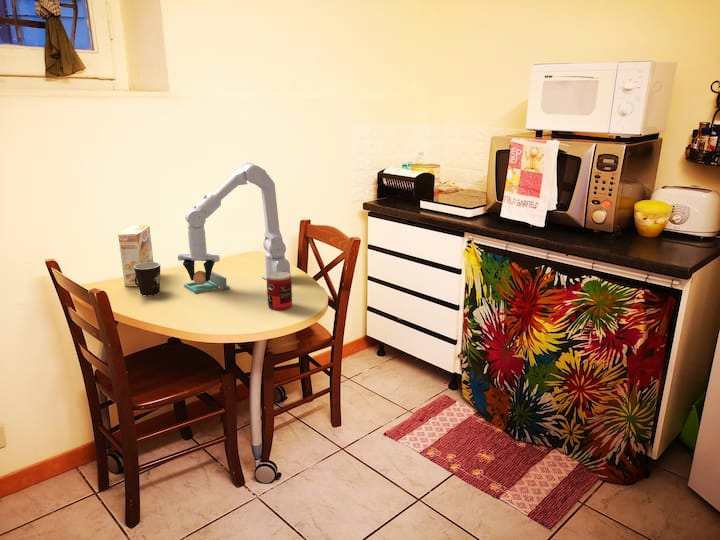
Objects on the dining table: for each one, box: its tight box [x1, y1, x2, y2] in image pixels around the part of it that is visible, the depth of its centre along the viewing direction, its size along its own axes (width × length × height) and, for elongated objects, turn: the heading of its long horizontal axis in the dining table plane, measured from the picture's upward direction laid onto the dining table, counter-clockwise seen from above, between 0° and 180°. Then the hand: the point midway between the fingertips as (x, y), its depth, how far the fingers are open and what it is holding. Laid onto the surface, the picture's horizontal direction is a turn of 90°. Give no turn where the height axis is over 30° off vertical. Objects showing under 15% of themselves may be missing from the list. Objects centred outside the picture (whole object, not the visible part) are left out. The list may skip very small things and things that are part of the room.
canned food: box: [266, 271, 293, 311], centre depth 177 cm, size 8×8×11 cm
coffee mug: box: [134, 261, 161, 297], centre depth 187 cm, size 12×9×10 cm
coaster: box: [183, 281, 220, 294], centre depth 195 cm, size 9×9×1 cm
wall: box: [209, 270, 230, 291], centre depth 199 cm, size 14×3×4 cm, turn 41°
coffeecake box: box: [117, 224, 154, 285], centre depth 201 cm, size 15×7×20 cm, turn 4°
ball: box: [193, 270, 207, 285], centre depth 195 cm, size 5×5×5 cm
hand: (200, 280), depth 195 cm, fingers open, 5 cm apart
